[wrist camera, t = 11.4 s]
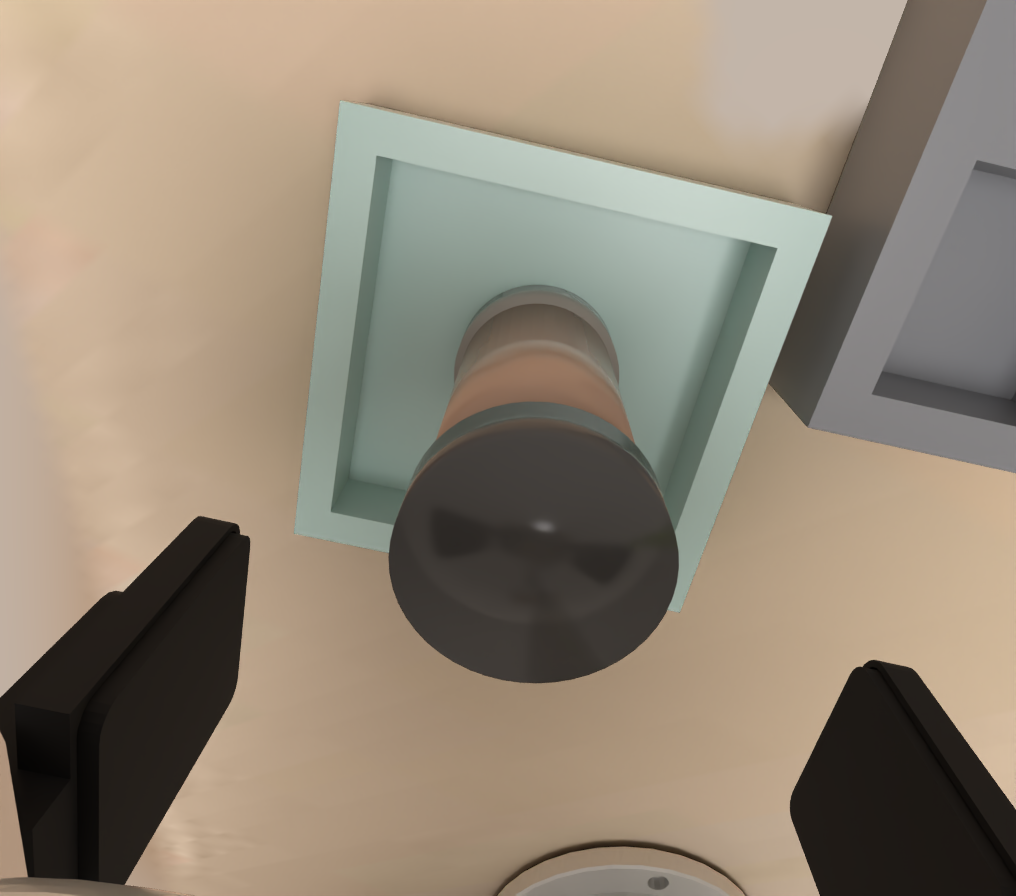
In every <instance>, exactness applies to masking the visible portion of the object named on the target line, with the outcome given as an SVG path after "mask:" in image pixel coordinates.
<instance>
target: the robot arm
mask: <svg viewBox="0 0 1016 896" xmlns="http://www.w3.org/2000/svg"><path fill="white" fill-rule="evenodd" d="M249 553H250V538H249V537H248V536H244V535H240V529H239V526H238V525H237V524H235V523H230V522H225V521H221V520H216V519H211V518H207V517H202V516H198V517H197V518H195V519H194V520H193V521H192V522H191V523H190V524H189V525H188V526H187V527H186V528H185V529H184V530H183V531H182V532H181V533H180V534H179V535H178V536H177V537H176V538H175V539H174V540H173V541H172V543H171V544H170V545H169V546H168V547H167V548H166V549H165V550H164V551H163V552H162V553H161V554H160V555H159V556H158V557H157V558H156V559H155V560H154V561H153V562H152V563H151V564H150V565H149V566H148V567H147V568H146V569H145V570H144V571H143V572H142V573H141V574H140V575H139V576H138V577H137V578H136V579H135V580H134V581H133V582H132V583H131V584H130V585H129V586H128V587H127V588H126V589H125V591H124V592H120V591H113V592H109V593H108V594H106V595H105V596H104V597H102V598H101V599H100V600H99V601H98V602H97V603H96V604H95V605H94V606H93V607H92V608H91V609H90V610H89V611H88V612H87V613H86V614H85V615H84V616H83V617H82V618H81V619H80V620H79V621H78V622H77V623H76V624H75V625H74V626H73V627H72V628H71V629H70V630H69V631H68V632H67V633H66V634H64V635H63V637H61V638H60V639H59V640H58V641H57V642H56V644H54V645H53V646H52V647H51V648H50V649H49V650H48V651H47V652H46V653H45V654H44V655H43V656H42V657H41V658H40V659H39V660H38V661H37V662H36V663H35V664H34V665H33V666H32V667H31V668H30V669H29V670H28V671H27V672H26V673H25V674H24V675H23V676H22V677H21V678H20V679H19V680H18V681H17V682H16V683H15V684H14V685H13V686H12V687H11V688H10V689H9V690H8V691H7V692H6V693H5V694H4V695H3V696H2V697H0V896H193V895H188V894H182V893H176V892H170V891H164V890H158V889H152V888H145V887H136V886H127V885H125V883H126V881H127V879H128V878H129V876H130V874H131V873H132V871H133V869H134V867H135V866H136V864H137V862H138V861H139V859H140V857H141V855H142V854H143V852H144V850H145V848H146V847H147V845H148V843H149V842H150V840H151V838H152V836H153V835H154V833H155V831H156V830H157V828H158V826H159V824H160V823H161V821H162V819H163V818H164V816H165V814H166V812H167V811H168V809H169V807H170V806H171V804H172V802H173V800H174V799H175V797H176V795H177V793H178V792H179V790H180V788H181V787H182V785H183V783H184V781H185V780H186V778H187V776H188V775H189V773H190V771H191V769H192V768H193V766H194V764H195V763H196V761H197V759H198V757H199V756H200V754H201V752H202V751H203V749H204V747H205V745H206V744H207V742H208V740H209V738H210V737H211V735H212V733H213V732H214V730H215V728H216V726H217V725H218V723H219V721H220V720H221V718H222V716H223V714H224V713H225V711H226V709H227V708H228V706H229V704H230V702H231V700H232V697H233V695H234V692H235V689H236V685H237V679H238V670H239V660H240V649H241V638H242V628H243V617H244V606H245V596H246V585H247V575H248V564H249ZM790 814H791V818H792V822H793V824H794V827H795V830H796V832H797V835H798V838H799V841H800V843H801V846H802V849H803V851H804V854H805V857H806V859H807V862H808V865H809V867H810V870H811V873H812V875H813V878H814V881H815V883H816V886H817V889H818V891H819V894H820V896H1016V809H1015V808H1014V807H1013V805H1012V804H1011V802H1010V801H1009V800H1008V798H1007V797H1006V796H1005V794H1004V793H1003V791H1002V790H1001V789H1000V787H999V786H998V784H997V783H996V782H995V780H994V779H993V778H992V776H991V775H990V773H989V772H988V771H987V769H986V768H985V767H984V765H983V764H982V762H981V761H980V760H979V758H978V757H977V755H976V754H975V753H974V751H973V750H972V749H971V747H970V746H969V744H968V743H967V742H966V740H965V739H964V737H963V736H962V735H961V733H960V732H959V731H958V729H957V728H956V726H955V725H954V724H953V722H952V721H951V720H950V718H949V717H948V715H947V714H946V713H945V711H944V710H943V708H942V707H941V706H940V704H939V703H938V702H937V700H936V699H935V697H934V696H933V695H932V693H931V692H930V690H929V689H928V688H927V686H926V685H925V684H924V682H923V681H922V679H921V678H920V677H919V675H918V674H917V673H916V672H915V671H914V670H913V669H911V668H909V667H905V666H900V665H896V664H891V663H886V662H882V661H877V660H871V661H868V662H867V663H866V664H864V666H863V667H856V668H855V669H854V670H853V671H852V673H851V674H850V676H849V678H848V680H847V682H846V684H845V686H844V688H843V690H842V692H841V694H840V696H839V698H838V701H837V703H836V705H835V707H834V709H833V711H832V713H831V715H830V717H829V719H828V721H827V723H826V725H825V727H824V729H823V731H822V733H821V735H820V737H819V739H818V741H817V743H816V745H815V747H814V750H813V752H812V754H811V756H810V758H809V760H808V762H807V764H806V766H805V768H804V770H803V772H802V774H801V776H800V778H799V780H798V782H797V784H796V786H795V788H794V790H793V793H792V796H791V800H790ZM498 896H745V895H744V893H743V892H742V891H741V890H740V889H739V888H738V887H737V886H736V885H734V884H733V883H732V882H731V881H730V880H729V879H728V878H727V877H725V876H724V875H722V874H720V873H718V872H717V871H715V870H713V869H712V868H710V867H708V866H706V865H705V864H702V863H700V862H697V861H695V860H692V859H689V858H687V857H684V856H682V855H679V854H674V853H670V852H665V851H661V850H656V849H650V848H639V847H627V846H621V847H599V848H592V849H586V850H581V851H575V852H570V853H567V854H564V855H561V856H558V857H555V858H552V859H549V860H546V861H544V862H542V863H540V864H538V865H536V866H534V867H532V868H530V869H528V870H526V871H525V872H523V873H522V874H520V875H519V876H518V877H516V878H515V879H514V880H513V881H511V882H510V883H509V884H507V885H506V886H505V887H504V888H503V890H502V891H501V892H500V893H499V894H498Z"/></svg>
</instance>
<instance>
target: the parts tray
mask: <svg viewBox="0 0 1016 896" xmlns="http://www.w3.org/2000/svg"><path fill="white" fill-rule="evenodd" d="M831 219H832V216H831V215H828V214H825V213H822V212H819V211H816V210H813V209H809V208H806V207H803V206H800V205H797V204H794V203H790V202H785V201H781V200H777V199H773V198H768V197H764V196H760V195H756V194H751V193H747V192H743V191H739V190H734V189H730V188H726V187H721V186H717V185H713V184H709V183H704V182H700V181H696V180H692V179H687V178H683V177H679V176H675V175H670V174H666V173H662V172H658V171H653V170H649V169H645V168H641V167H636V166H632V165H628V164H624V163H619V162H615V161H611V160H607V159H602V158H598V157H594V156H589V155H585V154H581V153H577V152H572V151H568V150H564V149H560V148H555V147H551V146H547V145H543V144H538V143H534V142H530V141H526V140H521V139H517V138H513V137H509V136H504V135H500V134H496V133H492V132H487V131H483V130H479V129H475V128H470V127H466V126H462V125H457V124H453V123H449V122H445V121H440V120H436V119H432V118H428V117H423V116H419V115H415V114H411V113H406V112H402V111H398V110H394V109H389V108H385V107H381V106H377V105H372V104H368V103H359V102H350V101H341V100H340V106H339V115H338V125H337V134H336V143H335V153H334V162H333V172H332V181H331V190H330V200H329V209H328V218H327V228H326V237H325V247H324V256H323V265H322V275H321V284H320V293H319V303H318V312H317V322H316V331H315V340H314V350H313V359H312V369H311V378H310V387H309V397H308V406H307V415H306V425H305V434H304V444H303V453H302V462H301V472H300V481H299V490H298V500H297V509H296V519H295V528H294V534H298V535H303V536H308V537H312V538H317V539H322V540H327V541H332V542H337V543H342V544H347V545H352V546H356V547H361V548H366V549H371V550H376V551H381V552H386V553H389V547H390V539H391V535H392V531H393V528H394V524H395V521H396V519H397V516H398V513H399V510H400V508H401V505H402V502H403V499H404V497H405V494H406V491H407V488H408V486H409V483H410V480H411V478H412V476H413V473H414V471H415V469H416V467H417V465H418V463H419V462H420V460H421V458H422V457H423V455H424V454H425V453H426V451H427V450H428V449H429V448H430V446H431V445H432V444H433V443H434V442H435V441H436V438H437V435H438V432H439V429H440V426H441V423H442V420H443V417H444V414H445V411H446V408H447V405H448V402H449V399H450V396H451V393H452V390H453V387H454V367H455V360H456V356H457V352H458V349H459V346H460V344H461V341H462V338H463V335H464V333H465V331H466V328H467V326H468V324H469V323H470V321H471V319H472V318H473V317H474V315H475V314H476V313H477V311H478V310H479V309H480V308H481V307H482V306H483V305H484V304H485V303H487V302H488V301H489V300H491V299H492V298H493V297H495V296H497V295H499V294H501V293H502V292H505V291H507V290H510V289H512V288H516V287H520V286H525V285H549V286H555V287H558V288H562V289H565V290H567V291H569V292H572V293H574V294H576V295H577V296H579V297H581V298H582V299H584V300H585V301H586V302H587V303H589V304H590V305H591V306H592V307H593V308H594V309H595V310H596V311H597V313H598V314H599V315H600V317H601V318H602V319H603V321H604V323H605V324H606V326H607V328H608V330H609V333H610V336H611V339H612V342H613V345H614V348H615V351H616V354H617V359H618V364H619V386H618V387H619V391H620V394H621V397H622V401H623V404H624V408H625V411H626V414H627V418H628V421H629V425H630V428H631V431H632V435H633V438H634V442H635V445H636V446H637V447H638V448H639V449H640V450H641V452H642V453H643V454H644V456H645V457H646V459H647V460H648V461H649V463H650V465H651V467H652V469H653V471H654V473H655V475H656V477H657V480H658V483H659V486H660V489H661V492H662V495H663V498H664V501H665V504H666V507H667V510H668V513H669V516H670V519H671V522H672V525H673V528H674V532H675V535H676V540H677V545H678V551H679V571H678V579H677V585H676V588H675V592H674V595H673V598H672V601H671V603H670V605H669V607H668V609H667V610H669V611H674V612H679V613H680V611H681V608H682V606H683V603H684V600H685V598H686V595H687V593H688V590H689V587H690V585H691V582H692V580H693V577H694V574H695V572H696V569H697V567H698V564H699V561H700V559H701V556H702V554H703V551H704V548H705V546H706V543H707V541H708V538H709V535H710V533H711V530H712V528H713V525H714V522H715V520H716V517H717V515H718V512H719V509H720V507H721V504H722V502H723V499H724V496H725V494H726V491H727V489H728V486H729V483H730V481H731V478H732V476H733V473H734V470H735V468H736V465H737V463H738V460H739V457H740V455H741V452H742V450H743V447H744V444H745V442H746V439H747V437H748V434H749V432H750V429H751V426H752V424H753V421H754V419H755V416H756V413H757V411H758V408H759V406H760V403H761V400H762V398H763V395H764V393H765V390H766V387H767V385H768V382H769V380H770V377H771V374H772V372H773V369H774V367H775V364H776V361H777V359H778V356H779V354H780V351H781V348H782V346H783V343H784V341H785V338H786V335H787V333H788V330H789V328H790V325H791V322H792V320H793V317H794V315H795V312H796V309H797V307H798V304H799V302H800V299H801V296H802V294H803V291H804V289H805V286H806V283H807V281H808V278H809V276H810V273H811V271H812V268H813V265H814V263H815V260H816V258H817V255H818V252H819V250H820V247H821V245H822V242H823V239H824V237H825V234H826V232H827V229H828V226H829V224H830V221H831Z"/></svg>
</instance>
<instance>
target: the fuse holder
mask: <svg viewBox="0 0 1016 896" xmlns="http://www.w3.org/2000/svg"><path fill="white" fill-rule="evenodd" d="M827 214H828V215H831V216H832V219H831V221H830V224H829V226H828V229H827V232H826V234H825V237H824V239H823V242H822V245H821V247H820V250H819V252H818V255H817V258H816V260H815V263H814V265H813V268H812V271H811V273H810V276H809V278H808V281H807V283H806V286H805V289H804V291H803V294H802V296H801V299H800V302H799V304H798V307H797V309H796V312H795V315H794V317H793V320H792V322H791V325H790V328H789V330H788V333H787V335H786V338H785V341H784V343H783V346H782V348H781V351H780V354H779V356H778V359H777V361H776V364H775V367H774V369H773V372H772V374H771V377H770V380H769V382H768V383H769V384H770V385H771V386H772V387H773V388H774V390H775V391H776V392H777V393H778V394H779V395H780V396H781V398H782V399H783V400H784V401H785V402H786V403H787V404H788V406H789V407H790V408H791V409H792V410H793V411H794V412H795V414H796V415H797V416H798V417H799V418H800V419H801V420H802V422H803V423H804V424H805V425H806V426H807V427H808V428H812V429H817V430H822V431H826V432H831V433H835V434H840V435H844V436H849V437H854V438H858V439H863V440H867V441H872V442H876V443H881V444H885V445H890V446H895V447H899V448H904V449H908V450H913V451H917V452H922V453H926V454H931V455H936V456H940V457H945V458H949V459H954V460H958V461H963V462H967V463H972V464H977V465H981V466H986V467H990V468H995V469H999V470H1004V471H1009V472H1013V473H1016V0H908V1H907V4H906V7H905V9H904V12H903V14H902V17H901V20H900V22H899V25H898V27H897V30H896V33H895V35H894V38H893V41H892V44H891V46H890V48H889V52H888V54H887V56H886V59H885V62H884V64H883V67H882V70H881V72H880V75H879V77H878V80H877V83H876V85H875V88H874V90H873V93H872V96H871V98H870V101H869V104H868V106H867V109H866V111H865V114H864V117H863V119H862V122H861V125H860V127H859V130H858V132H857V135H856V138H855V140H854V143H853V146H852V148H851V151H850V153H849V156H848V159H847V161H846V164H845V166H844V169H843V172H842V174H841V177H840V180H839V182H838V185H837V187H836V190H835V193H834V195H833V198H832V201H831V203H830V206H829V208H828V211H827Z"/></svg>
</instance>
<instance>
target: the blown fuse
mask: <svg viewBox="0 0 1016 896" xmlns="http://www.w3.org/2000/svg"><path fill="white" fill-rule="evenodd" d="M618 386H619V364H618V359H617V354H616V351H615V348H614V345H613V342H612V339H611V336H610V333H609V330H608V328H607V326H606V324H605V323H604V321H603V319H602V318H601V317H600V315H599V314H598V313H597V311H596V310H595V309H594V308H593V307H592V306H591V305H590V304H589V303H587V302H586V301H585V300H584V299H582V298H581V297H579V296H577V295H576V294H574V293H572V292H569V291H567V290H565V289H562V288H558V287H555V286H549V285H525V286H520V287H516V288H512V289H510V290H507V291H505V292H502V293H501V294H499V295H497V296H495V297H493V298H492V299H491V300H489V301H488V302H487V303H485V304H484V305H483V306H482V307H481V308H480V309H479V310H478V311H477V313H476V314H475V315H474V317H473V318H472V319H471V321H470V323H469V324H468V326H467V328H466V331H465V333H464V335H463V338H462V341H461V344H460V346H459V349H458V352H457V356H456V360H455V367H454V387H453V390H452V393H451V396H450V399H449V402H448V405H447V408H446V411H445V414H444V417H443V420H442V423H441V426H440V429H439V432H438V435H437V438H436V441H435V442H434V443H433V444H432V445H431V446H430V448H429V449H428V450H427V451H426V453H425V454H424V455H423V457H422V458H421V460H420V462H419V463H418V465H417V467H416V469H415V471H414V473H413V476H412V478H411V480H410V483H409V486H408V488H407V491H406V494H405V497H404V499H403V502H402V505H401V508H400V510H399V513H398V516H397V519H396V521H395V524H394V528H393V531H392V535H391V539H390V547H389V572H390V577H391V582H392V587H393V590H394V593H395V595H396V598H397V601H398V603H399V605H400V607H401V609H402V611H403V613H404V614H405V616H406V618H407V619H408V621H409V622H410V623H411V625H412V626H413V627H414V629H415V630H416V631H417V632H418V633H419V635H420V636H421V637H422V638H423V639H424V640H425V641H426V642H427V643H428V644H430V645H431V646H432V647H433V648H434V649H436V650H437V651H438V652H439V653H441V654H442V655H444V656H445V657H447V658H448V659H450V660H452V661H453V662H455V663H457V664H459V665H461V666H463V667H465V668H467V669H469V670H471V671H474V672H477V673H480V674H482V675H485V676H489V677H493V678H497V679H501V680H506V681H513V682H520V683H549V682H559V681H565V680H571V679H575V678H579V677H582V676H586V675H589V674H592V673H594V672H597V671H599V670H602V669H604V668H606V667H608V666H610V665H612V664H614V663H616V662H618V661H620V660H621V659H622V658H624V657H625V656H627V655H628V654H630V653H631V652H633V651H634V650H635V649H636V648H637V647H638V646H639V645H641V644H642V643H643V642H644V641H645V640H646V639H647V638H648V637H649V636H650V634H651V633H652V632H653V631H654V630H655V629H656V628H657V626H658V624H659V623H660V621H661V620H662V618H663V617H664V615H665V614H666V612H667V609H668V607H669V605H670V603H671V601H672V598H673V595H674V592H675V588H676V585H677V579H678V571H679V551H678V545H677V540H676V535H675V532H674V528H673V525H672V522H671V519H670V516H669V513H668V510H667V507H666V504H665V501H664V498H663V495H662V492H661V489H660V486H659V483H658V480H657V477H656V475H655V473H654V471H653V469H652V467H651V465H650V463H649V461H648V460H647V459H646V457H645V456H644V454H643V453H642V452H641V450H640V449H639V448H638V447H637V446H636V445H635V442H634V438H633V435H632V431H631V428H630V425H629V421H628V418H627V414H626V411H625V408H624V404H623V401H622V397H621V394H620V391H619V387H618Z"/></svg>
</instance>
